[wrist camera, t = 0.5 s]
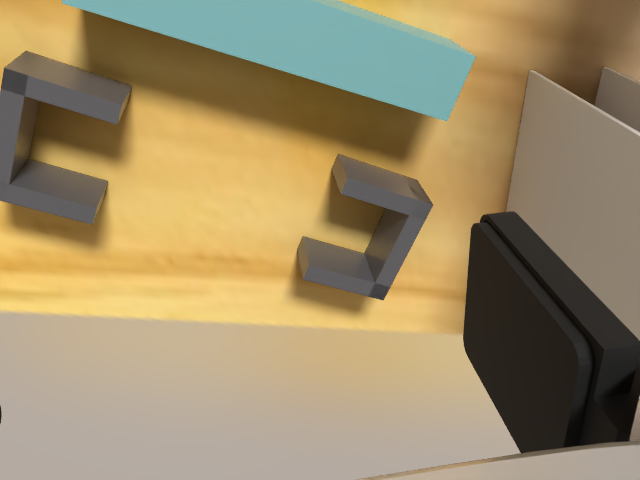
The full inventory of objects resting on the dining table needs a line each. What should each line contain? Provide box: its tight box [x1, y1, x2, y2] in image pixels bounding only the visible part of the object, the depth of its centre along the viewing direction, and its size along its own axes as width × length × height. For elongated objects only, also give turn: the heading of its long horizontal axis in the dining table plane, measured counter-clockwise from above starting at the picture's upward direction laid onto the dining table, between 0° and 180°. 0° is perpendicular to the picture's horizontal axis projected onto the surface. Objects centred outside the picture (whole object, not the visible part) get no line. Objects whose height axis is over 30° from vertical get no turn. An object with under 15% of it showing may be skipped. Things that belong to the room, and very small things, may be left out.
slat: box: [62, 0, 476, 121], centre depth 35 cm, size 4×22×5 cm, turn 71°
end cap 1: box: [0, 51, 132, 225], centre depth 37 cm, size 8×6×4 cm
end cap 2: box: [297, 154, 433, 300], centre depth 42 cm, size 8×6×4 cm
